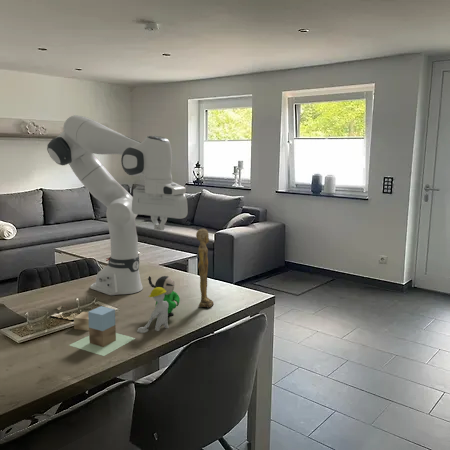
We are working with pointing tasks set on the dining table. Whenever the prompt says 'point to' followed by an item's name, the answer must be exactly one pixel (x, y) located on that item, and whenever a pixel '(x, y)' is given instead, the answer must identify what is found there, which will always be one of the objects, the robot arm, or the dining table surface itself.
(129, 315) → the dining table surface
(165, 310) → the figurine
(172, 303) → the toy
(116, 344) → the plate
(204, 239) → the sculpture
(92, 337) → the walnut brick
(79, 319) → the oak brick
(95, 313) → the blue brick
